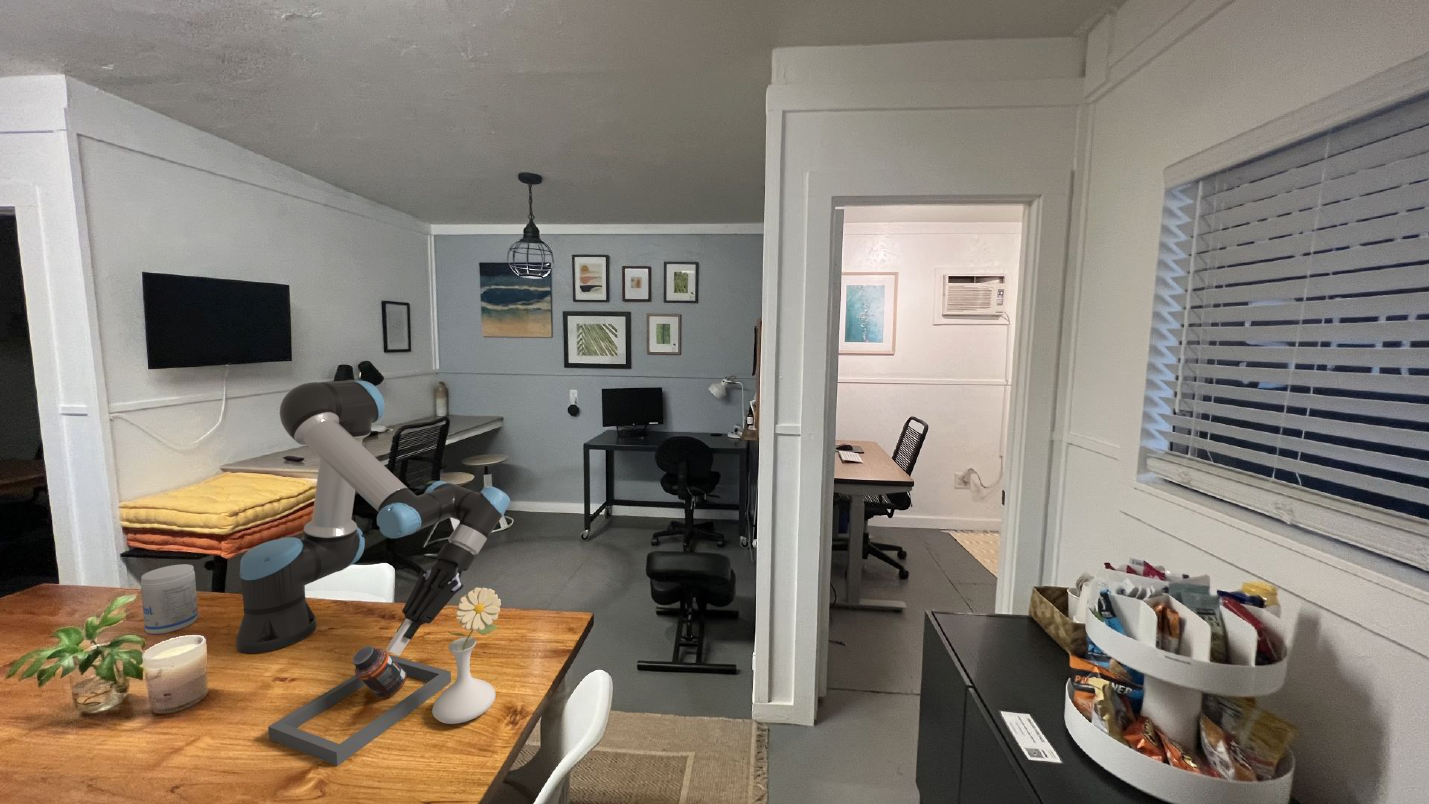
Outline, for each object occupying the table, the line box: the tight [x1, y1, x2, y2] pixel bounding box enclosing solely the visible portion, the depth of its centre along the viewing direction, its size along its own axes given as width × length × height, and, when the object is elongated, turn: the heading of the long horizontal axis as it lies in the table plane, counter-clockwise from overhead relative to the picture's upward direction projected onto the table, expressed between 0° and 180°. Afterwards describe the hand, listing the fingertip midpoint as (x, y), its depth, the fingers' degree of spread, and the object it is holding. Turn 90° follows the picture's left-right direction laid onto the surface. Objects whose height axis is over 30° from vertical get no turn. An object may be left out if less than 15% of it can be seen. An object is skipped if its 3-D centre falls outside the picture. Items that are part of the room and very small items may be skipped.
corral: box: [268, 654, 452, 767], centre depth 102 cm, size 18×24×2 cm
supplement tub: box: [140, 563, 199, 635], centre depth 132 cm, size 10×10×15 cm
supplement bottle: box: [352, 645, 408, 699], centre depth 105 cm, size 6×6×11 cm
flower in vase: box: [431, 587, 502, 725], centre depth 101 cm, size 13×11×25 cm
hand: (392, 652), depth 107 cm, fingers closed
